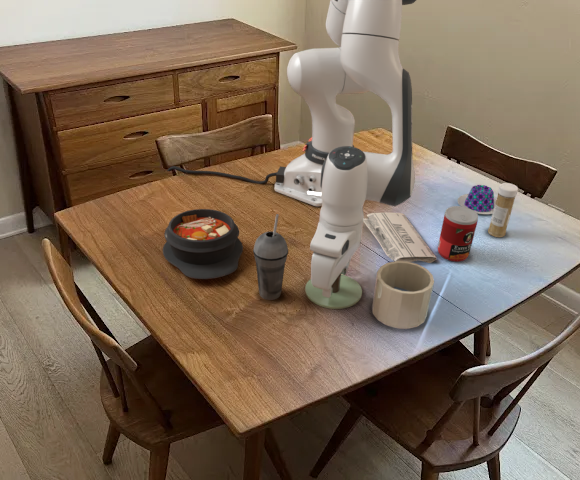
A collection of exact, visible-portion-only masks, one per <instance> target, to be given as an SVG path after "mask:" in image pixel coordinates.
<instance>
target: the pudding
mask: <svg viewBox="0 0 580 480" xmlns="http://www.w3.org/2000/svg"><path fill="white" fill-rule="evenodd" d="M496 199H497V198H496ZM496 199H495V191H494V189H492V187H490V186H488V185H486V184H477V185H473V186H472V188H471V189H470V190H469V192H468V193H464V194H462V195H459V196H458V198H457V204H458V206H462V207H466V208H469V209H471V210H473V211H475V212H476V213H477V215H478V214H479V215H492V214H493V210H494V206H495V203H496Z"/></svg>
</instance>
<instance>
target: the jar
mask: <svg viewBox="0 0 580 480" xmlns="http://www.w3.org/2000/svg"><path fill="white" fill-rule="evenodd" d="M434 285H435V279H434V275H433V274H432V272H430V271H429V269H428V268H426V267H424V266H422V265H421V264H418V263H415V262H407V261H389V262H386V263H384V264H383V265H381V266H379V269H378V270H377V272H376V276H375V284H374V290H373V296H372V302H371V303H372V304H371V310H372V311H371V312H372V314H373V316H374V317H375V319H376V320H377V321H379V322H380V323H382V324H383V325H385V326H388V327H390V328H394V329H401V330H409V329H413V328H417V327H419V326H420V325H422V324H423V323H425V321H426V319H427V317H428V312H429V308H430V303H431V298H432V294H433V289H434ZM394 287H398V288H401V289H405V290H409V291H412V292H409V291H401V290H397V289H394Z"/></svg>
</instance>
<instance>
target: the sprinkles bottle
mask: <svg viewBox="0 0 580 480" xmlns="http://www.w3.org/2000/svg"><path fill="white" fill-rule="evenodd" d="M518 192H519V187H518V186H517V185H515V184H513V183H510V182H503V183H500V184H499V186H498V189H497V196H496V203H495V206H494V210H493V214H491V217H490V223H489V227H488V229H487V233H488V234H489V235H490V236H492V237H494V238H503V237H505V236H506V235H507V228H508V225H509V222H510V220H511V219H510V218H511V216H512V210H513V207H514V203H515V200H516V197H517V196H518Z"/></svg>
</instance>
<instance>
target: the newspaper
mask: <svg viewBox="0 0 580 480" xmlns="http://www.w3.org/2000/svg"><path fill="white" fill-rule="evenodd" d="M366 217H367V218H366ZM366 217H364V219H363V224H364V225H365V226H366V227H367V229H368V230H369V231H370V232H371V234H372V235H373V237H374V238H375V239H376V241H377V242H378V243H379V245H380V247H381V248H382V250H383V252H384V254H385V255H386V256H387V257H388V258H389V259H390V260H391V261H392V262H394V261H407V262H411V263H414V262H418V261H420V262H423V263H426V264H431V263H433V262H435V261H437V256H436V255H435V253H434V252H433V251H432V249H431V248H430V247H429V246H428V244H427V243H426V242H425V240H424V239H423V238H422V236H421V235H420V233H419V232H418V231H417V230H416V228H415V227H414V226H413V224H412V223H411V222H410V221H409V219H408V218H407V216H406V214H404V213H402V212H386V211H385V212H371V213H368V214H366Z"/></svg>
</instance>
